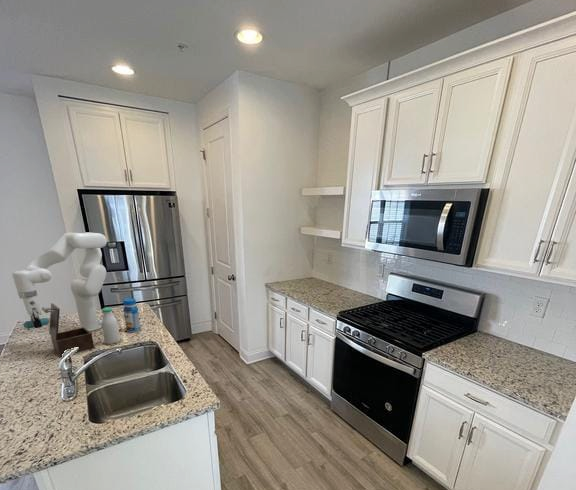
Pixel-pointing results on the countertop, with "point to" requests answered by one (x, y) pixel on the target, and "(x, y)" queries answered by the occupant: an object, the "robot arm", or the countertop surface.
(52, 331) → the bin lid
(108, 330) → the milk bottle
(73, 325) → the countertop surface
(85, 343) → the bin
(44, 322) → the teal cylinder
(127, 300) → the beverage bottle
